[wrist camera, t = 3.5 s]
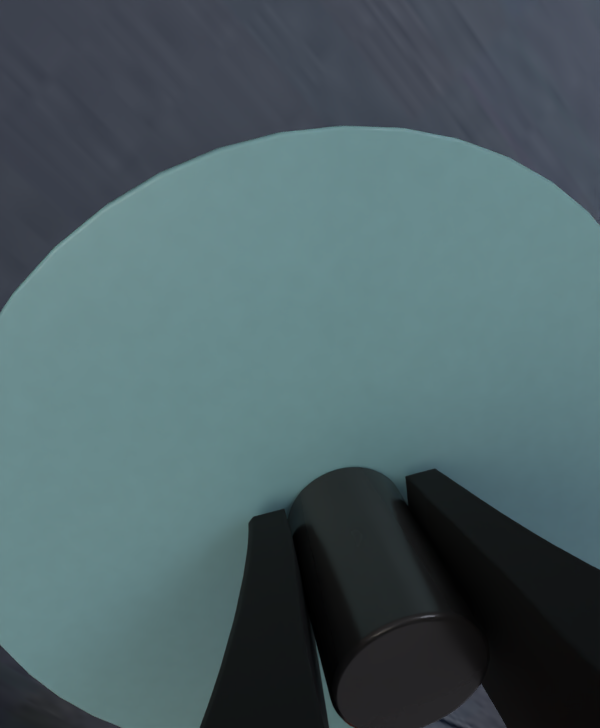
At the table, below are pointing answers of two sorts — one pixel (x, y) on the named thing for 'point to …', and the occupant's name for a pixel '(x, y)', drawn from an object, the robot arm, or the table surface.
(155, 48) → the table surface
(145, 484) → the lid
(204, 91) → the table surface
